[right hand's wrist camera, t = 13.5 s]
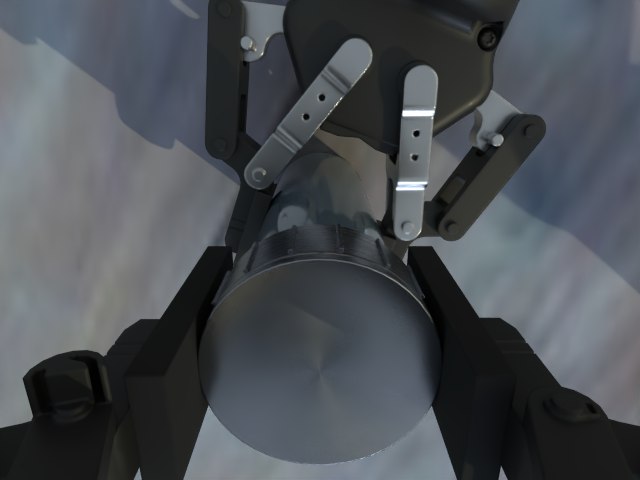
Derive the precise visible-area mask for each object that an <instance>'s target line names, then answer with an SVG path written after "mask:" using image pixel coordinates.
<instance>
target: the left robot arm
mask: <svg viewBox="0 0 640 480" xmlns="http://www.w3.org/2000/svg"><path fill="white" fill-rule="evenodd" d="M518 3H519V0H289V2H288V3H287V5H286V6H282V5H274V4H266V3H258V2H250V1H243V0H210V1H209V6H208V42H207V84H206V126H205V146H206V149H207V151H208V153H209V154H210V155H211V156H212V157H214V158H216V159H222V160H223V161H224V162H226V163H227V164H228V165H229V166H231V167H232V168H233V169H234V170H235V171H236V172H237V173H238V175H239V177H240V181H241V187H240V191H239V194H238V197H237V201H236V204H235V207H234V210H233V214H232V217H231V220H230V223H229V227H228V230H227V233H226V236H225V244H226V246H232V252H234V253H237V254H236V257H235V260H234V263H233V265H234V266H235V264H236V263H237V262H238V261H239V259H240V258H241V257H242V256H243V255H244V254H245V253H246V252H247V251H249V250H250V249H251V247H252V245H253V243H254V242H256V239H257V237H258V234H259V232H260V229H261V227H262V224H263V222H264V219H265V217H266V214H267V212H268V209H269V207H270V204H271V202H272V199H273V196H274V193H275V190H276V187H277V184H275V183H274V180H275V179H276V177H277V176H278V175H279V174H280V173H281V171H282V170H283V169H284V168H285V167H286V165H287V164H288V163H289V162H290V160H291V159H292V158H293V157H294V156H295V154H296V153H297V152H298V151H299V150H300V149H301V148H302V147H303V146H304V145H305V144H306V142H307V141H308V140H309V139H310V138H311V136H312V135H313V134H314V133H315V131H316V130H317V129H318V128H319V127H320V129H321V130H324V131H326V132H329V133H332V134H334V135H337V136H344V137H356V138H360V139H361V140H363V141H364V142H365V143H367V144H368V145H370V146H371V147H372V148H374V149H375V150H377V151H380V152H383V153H386V173H387V188H386V213H385V215H384V217H383V220H382V221H379V220H376V221H377V224H378V226H379V229H380V231H381V234H382V236H383V239H384V242H385V244H386V246H387V247H388V248H389V249H391V250H392V251H393V252H394V253H395V254H396V255H397V256H398V257H399V258H400V259H401V260H402V259H403V257H404V255H405V253H406V251H407V249H408V246H409V245H410V244H411V243H412V242H413V241H414V240H416V239H417V238H420V237H442V238H443V239H444V240H447V241H456V240H458V239H460V238H461V237H462V236H463V235H464V234H465V233H466V232H467V230H468V229H469V228H470V227H471V226H472V224H473V223H474V222H475V221H476V219H477V218H478V217H479V216H480V215H481V213H482V212H483V211H484V210H485V208H486V207H487V206H488V205H489V204H490V202H491V201H492V200H493V199H494V197H495V196H496V195H497V194H498V193H499V191H500V190H501V189H502V188H503V186H504V185H505V184H506V183H507V181H508V180H509V179H510V178H511V177H512V175H513V174H514V173H515V172H516V170H517V169H518V168H519V167H520V166H521V164H522V163H523V162H524V161H525V159H526V158H527V157H528V156H529V155H530V153H531V152H532V151H533V150H534V148H535V147H536V146H537V145H538V144H539V142H540V141H541V140H542V139H543V137H544V135H545V132H546V124H545V122H544V120H543V119H542V118H541V117H539V116H537V115H532V114H530V113H525V112H521V111H520V110H518V109H517V108H516V107H514V106H513V105H512V104H511V103H509V102H508V101H507V100H505V99H504V98H503V97H501V96H500V95H499V94H497V93H496V92H495V91H494V90H492V86H493V61H494V56H495V52H496V49H497V46H498V44H499V42H500V40H501V38H502V37H503V35H504V33H505V31H506V29H507V27H508V25H509V22H510V20H511V18H512V16H513V14H514V11H515V9H516V7H517V5H518ZM278 35H284V36H285V39H286V43H287V46H288V50H289V53H290V57H291V60H292V64H293V67H294V71H295V74H296V78H297V81H298V85H299V88H300V92H301V95H302V97H301V98H300V99H299V100H298V102H297V103H296V104H295V105H294V107H293V108H292V109H291V110H290V112H289V113H288V114H287V116H286V117H285V118H284V119H283V121H282V122H281V123H280V124H279V126H278V127H277V128H276V129H275V131H274V132H273V133H272V135H271V136H270V137H269V138H268V140H267V141H266V142H265V143H264V145H263V146H261V145H259V144H258V143H257V142H256V141H255V140H253V139H252V138H251V137H250V136H248V135H247V134H246V118H247V100H248V82H249V63H250V62H257V61H260V60H261V59H263V58H264V56H265V55H266V53H267V49H268V45H269V43H270V41H271V40H272V39H273V38H274V37H276V36H278ZM471 112H474V115H475V123H474V126H473V128H472V129H471V131H470V135H469V139H470V142H471V144H472V146H473V147H472V148H471V150H470V151H469V152H468V153H467V155H466V156H465V157H464V159H463V160H462V161H461V163H460V164H459V165H458V166H457V168H456V169H455V170H454V172H453V173H452V174H451V176H450V177H449V178H448V180H447V181H446V182H445V183H444V185H443V186H442V187H441V189H440V190H439V191H438V193H437V194H436V195H435V196H434V198H433V199H432V200H431V201H424V195H425V188H426V187H427V185H428V181H429V170H430V157H431V144H432V138H433V137H434V136H436V135H437V134H439V133H441V132H442V131H444V130H445V129H447V128H448V127H450V126H451V125H453V124H454V123H456V122H457V121H459V120H460V119H462V118H464V117H465V116H467V115H468V114H470V113H471Z"/></svg>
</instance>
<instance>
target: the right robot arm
mask: <svg viewBox="0 0 640 480" xmlns="http://www.w3.org/2000/svg"><path fill="white" fill-rule="evenodd" d="M407 265H409V266H410V267H411V269H412V271H413V273H414V276H415V278H416V280H417V282H418V284H419V286H420V288H421V290H422V292H423V294H424V296H425V298H424V302H425V304H426V306H427V308H428V310H429V312H430V315H431V317H432V319H433V321H434V323H435V325H436V328H437V330H438V332H439V337H440V340H441V345H442V351H443V364H442V373H441V382H440V386H439V389H438V392H437V395H436V397H435V399H434V401H433V403H432V407H433V410H434V413H435V416H436V419H437V422H438V425H439V428H440V431H441V434H442V437H443V440H444V443H445V446H446V448H447V451H448V454H449V457H450V460H451V463H452V466H453V469H454V472H455V475H456V478H457V480H498V479H499V473H500V468H501V466H502V468H503V471H504V473H505V475H506V477H507V479H508V480H640V426H636V425H631V424H627V423H622V422H618V421H614V420H611V419H608V417H607V415H606V414H605V413H604V411H603V410H602V408H601V407H600V406H599V405H598V404H597V403H595V402H594V401H593V400H591V399H590V398H589V397H587V396H585V395H583V394H581V393H579V392H577V391H575V390H572V389H568V388H564V387H561V386H560V384H559V383H558V382H557V381H556V379H555V378H554V377H553V375H552V374H551V373H550V372H549V370H548V369H547V368H546V366H545V365H544V364H543V363H542V361H541V360H540V359H539V357H538V356H537V355H536V354H534V351H533V350H532V348H531V347H530V346H529V345H528V343H526V341H525V339H524V338H523V337H522V336H521V334H520V333H519V332H518V330H517V329H516V328H514V327H513V326H511V325H510V324H508V323H507V322H505V321H504V320H502V319H501V318H479V317H478V315H477V314H476V312H475V311H474V309H473V307H472V306H471V304H470V303H469V301H468V300H467V298H466V297H465V295H464V294H463V292H462V291H461V289H460V288H459V286H458V285H457V283H456V282H455V280H454V279H453V277H452V276H451V274H450V273H449V271H448V270H447V268H446V267H445V265H444V264H443V262H442V261H441V259H440V258H439V256H438V255H437V253H436V252H435V250H434V249H433V247H432V246H408V260H407ZM232 268H233V256H232V246H208V247H207V249H206V250H205V252H204V253H203V255H202V256H201V258H200V260H199V261H198V263H197V264H196V266H195V267H194V269H193V270H192V272H191V273H190V275H189V276H188V278H187V279H186V281H185V282H184V284H183V285H182V287H181V288H180V290H179V291H178V293H177V294H176V296H175V297H174V299H173V300H172V302H171V303H170V305H169V306H168V308H167V309H166V311H165V312H164V314H163V315H162V317H161V318H160V319H140V320H139V321H137V322H136V323H134V324H133V325H131V326H130V327H128V328H127V329H125V330H124V331H123V333H122V334H121V335H120V336H119V338H118V339H117V340H116V342H115V345H113V346H112V347H111V348H110V349H109V351H108V352H107V355H105V356H104V357H103V356H102V355H101V354H99V353H98V352H93V351H89V350H81V351H70V352H66V353H62V354H58V355H55V356H53V357H51V358H48V359H46V360H44V361H42V362H40V363H39V364H37V365H36V366H34V367H33V368H31V369H30V370H29V371H28V373H27V374H26V375H25V376H24V377H23V382H24V385H25V389H26V392H27V396H28V400H29V403H30V407H31V410H32V414H33V418H32V420H31V421H29V422H26V423H22V424H18V425H13V426H8V427H4V428H0V480H134V478H135V475H136V473H137V471H138V469H139V467H140V472H141V477H142V480H183V479H184V476H185V473H186V470H187V467H188V464H189V461H190V458H191V455H192V452H193V449H194V446H195V443H196V440H197V437H198V434H199V432H200V429H201V426H202V423H203V420H204V417H205V414H206V411H207V408H208V405H209V404H208V403H207V401H206V398H205V396H204V393H203V391H202V388H201V384H200V379H199V371H198V362H197V357H198V347H199V342H200V338H201V334H202V332H203V329H204V327H205V324H206V322H207V320H208V318H209V315H210V313H211V311H212V309H213V307H214V305H212V302H213V299H214V297H215V295H216V293H217V291H218V289H219V287H220V285H221V283H222V281H223V279H224V276H225V274H226V272H227V271H228V270H229V271H230V272H231V270H232Z"/></svg>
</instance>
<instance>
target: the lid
mask: <svg viewBox="0 0 640 480" xmlns="http://www.w3.org/2000/svg"><path fill="white" fill-rule="evenodd" d="M424 298H425V296H424V294H423V292H422V290H421V288H420V286H419V284H418V282H417V280H416V278H415V276H414V273H413V271H412V269H411V267H410V266H409V265H407V266H406V265H405V264H404V263H403V261H402V260H401V259H400V258H399V257H398V256H397V255H396V254H395V253H394V252H393V251H392V250H391V249H389V248H388V247H387V246H386V245H384V244H383V243H382V240H381V239H380V238H377V239H375V238H373V237H371V236H369V235H367V234H364V233H362V232H360V231H357V230H353V229H350V228H346V227H341V224H336V226H335V225H318V224H316V225H305V226H299V227H297V226H296V225H292V228H290V229H287V230H284V231H281V232H278V233H275V234H273V235H271V236H269V237H268V238H266V239H264V240H262V241H260V242H259V243H257V242H254V243H253V245H252V247H251V249H250V250H249V251H247V252H246V253H245V254H244V255H243V256H242V257H241V258H240V259H239V261H238V262H237V263H236V264H235V266H234V267H233V268H232V270H231V272H230V271H229V270H228V271H227V272H226V274H225V276H224V279H223V281H222V283H221V285H220V287H219V289H218V291H217V293H216V295H215V297H214V299H213V302H212V305H214V307H213V309H212V311H211V313H210V315H209V318H208V320H207V322H206V324H205V327H204V329H203V332H202V334H201V338H200V342H199V347H198V357H197V362H198V371H199V379H200V384H201V388H202V391H203V393H204V396H205V398H206V401H207V403H208V404H209V406H210V408H211V410H212V411H213V413H214V414H215V416H216V417H217V418H218V419H219V421H220V422H221V423H222V424H223V425H224V426H225V427H226V428H227V429H228V430H229V431H230V432H231V433H232V434H233V435H234V436H236V437H237V438H238V439H240V440H241V441H242V442H244V443H245V444H247V445H249V446H250V447H252V448H254V449H255V450H258V451H260V452H262V453H264V454H266V455H269V456H272V457H275V458H278V459H281V460H285V461H289V462H294V463H300V464H308V465H330V464H341V463H346V462H352V461H356V460H359V459H363V458H366V457H369V456H371V455H374V454H376V453H379V452H381V451H383V450H385V449H386V448H388V447H390V446H392V445H394V444H395V443H396V442H398V441H399V440H401V439H402V438H404V437H405V436H406V435H407V434H408V433H409V432H411V431H412V430H413V429H414V428H415V427H416V426H417V425H418V423H419V422H420V421H421V420H422V419H423V418H424V416H425V415H426V413H427V412H428V410H429V409H430V407H431V405H432V403H433V401H434V399H435V397H436V395H437V392H438V389H439V386H440V382H441V373H442V364H443V351H442V345H441V340H440V337H439V332H438V330H437V328H436V325H435V323H434V321H433V319H432V317H431V315H430V312H429V310H428V308H427V306H426V304H425V302H424Z"/></svg>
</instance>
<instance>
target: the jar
mask: <svg viewBox="0 0 640 480" xmlns="http://www.w3.org/2000/svg"><path fill="white" fill-rule="evenodd" d="M316 224H318V225H335V226H336V224H341V227H346V228H350V229H353V230H357V231H360V232H362V233H364V234H367V235H369V236H371V237H373V238H375V239H377V238H380V239H381V240H382V243H383V244H384V245H386V244H385V242H384V239H383V236H382V234H381V231H380V229H379V226H378V224H377V221H376V219H375V216H374V214H373V211H372V209H371V206H370V203H369V201H368V198H367V196H366V193H365V191H364V188H363V186H362V183H361V181H360V178H359V176H358V174H357V172H356V171H355V169H354V168H353V167H352V166H351V165H350V164H349V163H348V162H347V161H345V160H344V159H342V158H341V157H339V156H336V155H334V154H330V153H325V152H316V153H310V154H306V155H304V156H301V157H299V158H298V159H296V160H295V161H293V162H292V163H291V164H290V165H289V166H288V167H287V168H286V169H285V171H284V172H283V174H282V176H281V178H280V181H279V183H278V186H277V188H276V191H275V193H274V196H273V199H272V202H271V204H270V207H269V209H268V212H267V214H266V217H265V219H264V222H263V224H262V227H261V229H260V232H259V234H258V237H257V239H256V242H257V243H259V242H260V241H262V240H264V239H266V238H268V237H269V236H271V235H273V234H275V233H278V232H281V231H284V230H287V229H290V228H292V225H296V226H297V227H299V226H305V225H316Z"/></svg>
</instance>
